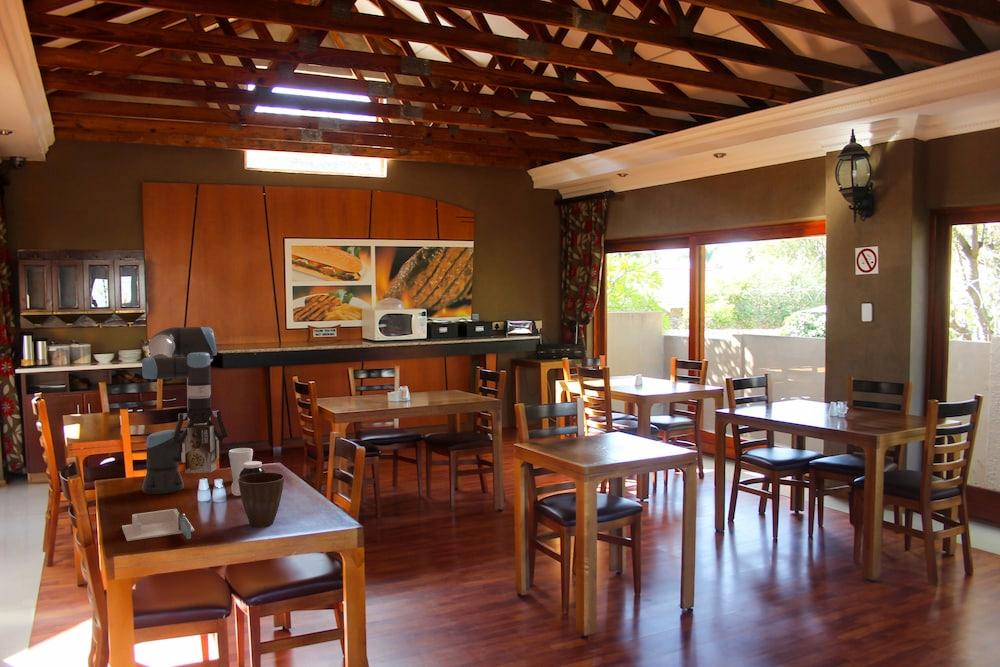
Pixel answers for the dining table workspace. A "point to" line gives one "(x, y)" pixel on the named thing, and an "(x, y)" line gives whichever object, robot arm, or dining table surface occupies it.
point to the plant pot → (261, 497)
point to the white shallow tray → (153, 525)
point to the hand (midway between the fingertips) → (200, 459)
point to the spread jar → (248, 469)
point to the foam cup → (239, 460)
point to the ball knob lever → (184, 525)
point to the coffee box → (200, 449)
